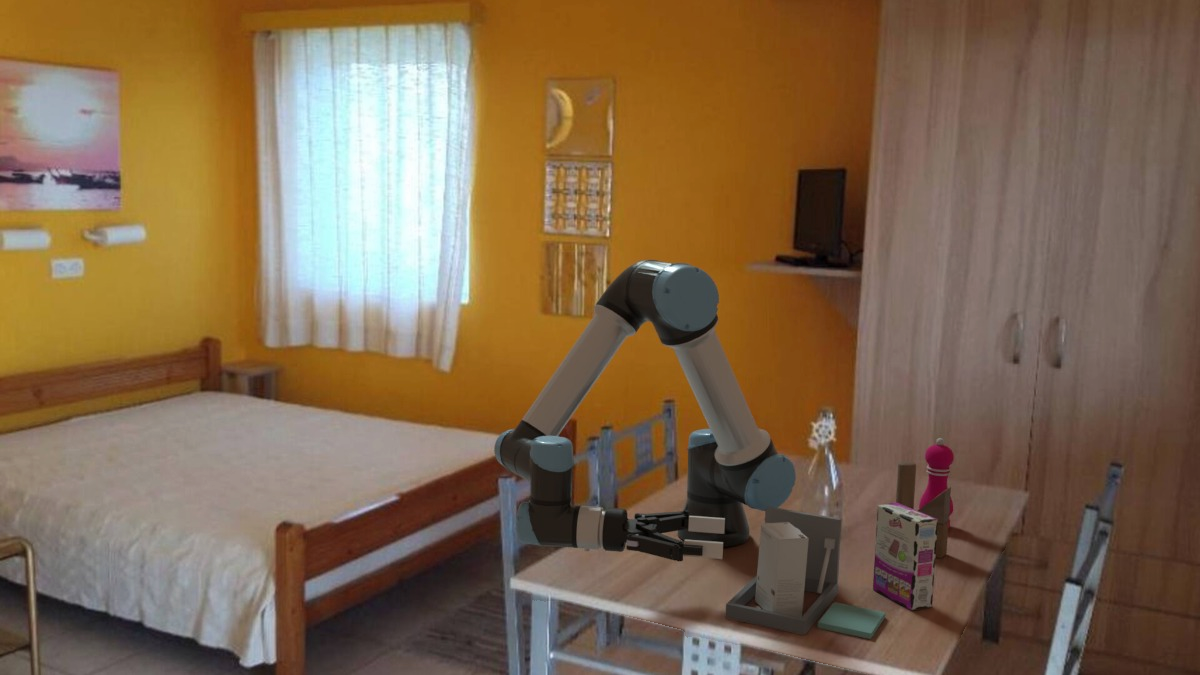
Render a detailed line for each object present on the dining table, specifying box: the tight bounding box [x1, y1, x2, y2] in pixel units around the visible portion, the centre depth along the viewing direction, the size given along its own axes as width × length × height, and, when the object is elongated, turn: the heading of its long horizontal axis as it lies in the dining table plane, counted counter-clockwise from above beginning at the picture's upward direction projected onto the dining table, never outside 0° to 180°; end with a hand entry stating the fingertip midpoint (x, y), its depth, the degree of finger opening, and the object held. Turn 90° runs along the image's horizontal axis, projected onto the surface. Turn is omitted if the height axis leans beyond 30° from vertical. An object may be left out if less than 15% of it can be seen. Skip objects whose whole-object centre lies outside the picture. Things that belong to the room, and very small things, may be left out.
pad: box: [817, 601, 886, 640], centre depth 180 cm, size 9×10×1 cm
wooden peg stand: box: [895, 460, 952, 559], centre depth 216 cm, size 4×11×18 cm, turn 53°
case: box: [725, 506, 842, 636], centre depth 186 cm, size 14×20×14 cm
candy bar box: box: [872, 502, 938, 611], centre depth 190 cm, size 11×5×16 cm, turn 24°
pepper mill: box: [918, 437, 955, 530], centre depth 231 cm, size 7×7×20 cm
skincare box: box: [754, 522, 809, 617], centre depth 184 cm, size 8×6×15 cm
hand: (724, 537), depth 185 cm, fingers open, 13 cm apart
